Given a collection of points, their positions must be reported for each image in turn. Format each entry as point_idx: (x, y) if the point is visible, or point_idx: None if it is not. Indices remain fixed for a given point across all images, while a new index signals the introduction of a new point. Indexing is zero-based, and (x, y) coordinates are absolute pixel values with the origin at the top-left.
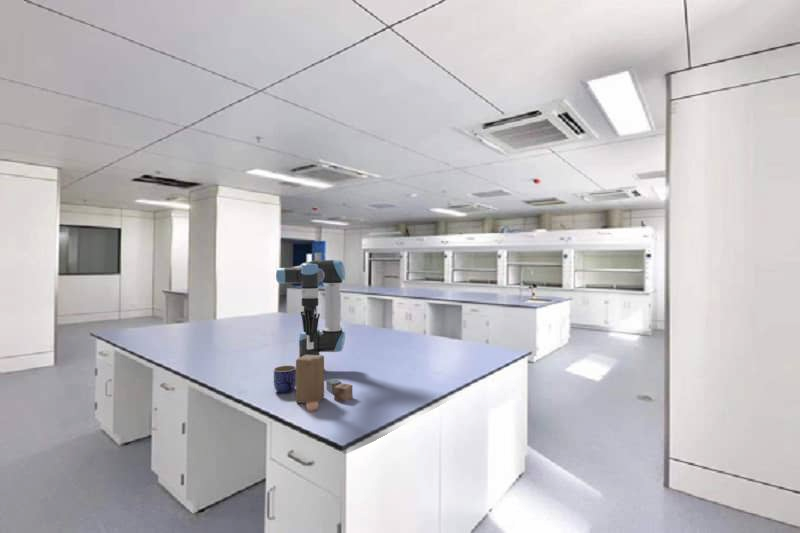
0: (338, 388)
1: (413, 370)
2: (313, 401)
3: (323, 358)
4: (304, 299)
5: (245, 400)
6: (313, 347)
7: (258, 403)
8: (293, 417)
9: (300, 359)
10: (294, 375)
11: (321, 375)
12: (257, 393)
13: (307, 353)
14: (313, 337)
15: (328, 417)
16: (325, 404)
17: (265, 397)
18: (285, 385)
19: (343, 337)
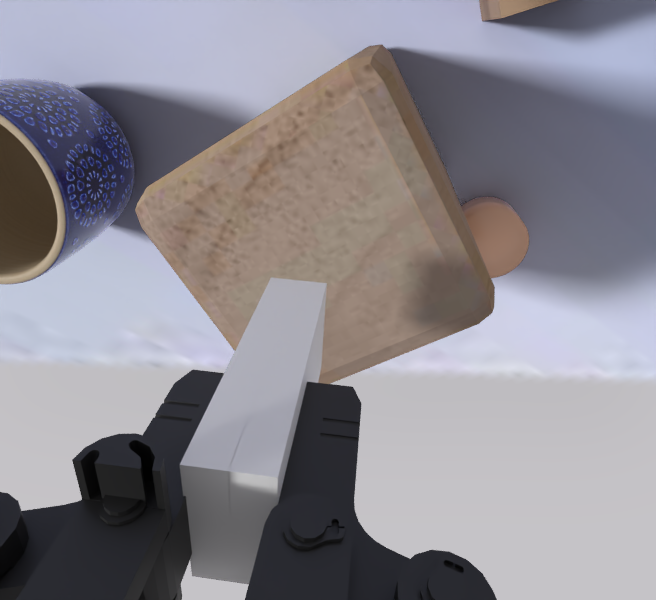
0: (548, 2)
1: None
2: (476, 227)
3: (400, 90)
4: None
5: (105, 362)
6: (324, 295)
7: (185, 348)
8: (477, 345)
9: None
10: (79, 150)
11: (420, 122)
12: (34, 280)
13: None
14: (353, 467)
15: (651, 242)
16: (490, 125)
17: (122, 286)
18: (119, 208)
19: None
